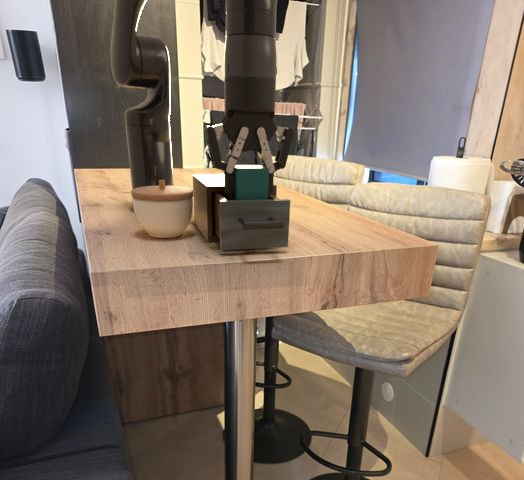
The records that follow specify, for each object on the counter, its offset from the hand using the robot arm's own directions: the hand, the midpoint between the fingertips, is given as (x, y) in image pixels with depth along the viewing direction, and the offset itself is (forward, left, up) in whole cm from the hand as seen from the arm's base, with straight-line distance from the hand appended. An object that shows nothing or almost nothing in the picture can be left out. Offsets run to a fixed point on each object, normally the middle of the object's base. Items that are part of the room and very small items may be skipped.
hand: (248, 196), depth 74 cm
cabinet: (-12, 0, -8) cm, 15 cm away
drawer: (0, 0, -7) cm, 7 cm away
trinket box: (-11, -13, -8) cm, 19 cm away
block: (0, 0, 0) cm, 0 cm away
